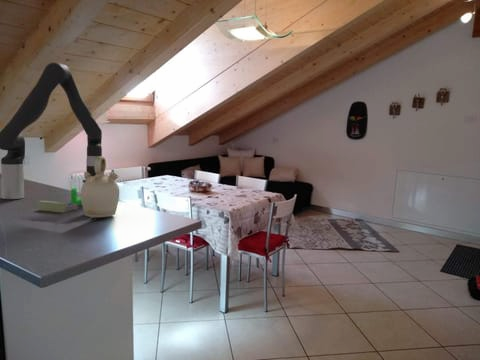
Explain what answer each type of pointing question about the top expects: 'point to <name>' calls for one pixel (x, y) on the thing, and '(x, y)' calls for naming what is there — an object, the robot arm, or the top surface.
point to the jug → (100, 192)
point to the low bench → (56, 206)
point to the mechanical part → (75, 197)
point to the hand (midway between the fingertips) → (94, 198)
